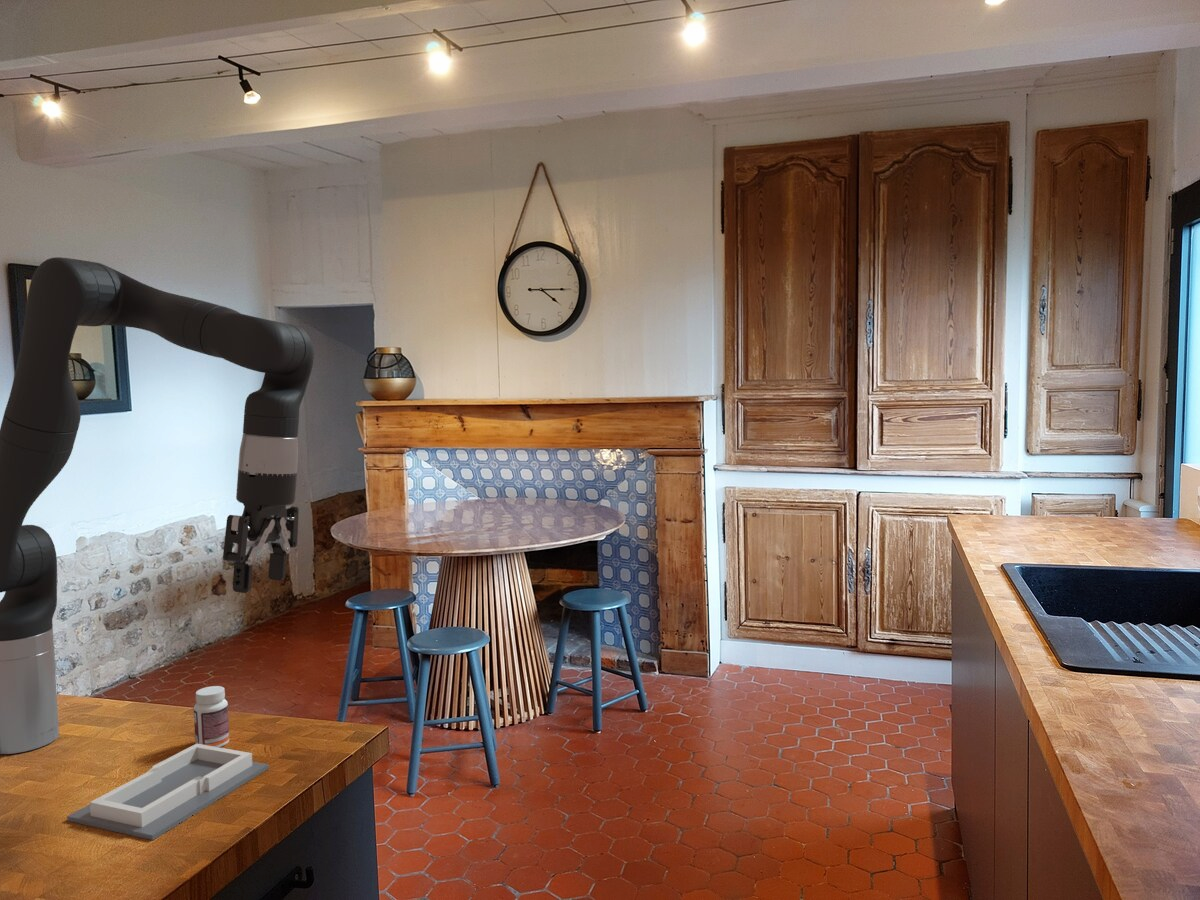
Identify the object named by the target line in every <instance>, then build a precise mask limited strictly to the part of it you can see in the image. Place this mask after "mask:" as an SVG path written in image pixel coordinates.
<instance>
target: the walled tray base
mask: <svg viewBox="0 0 1200 900" xmlns="http://www.w3.org/2000/svg"><path fill="white" fill-rule="evenodd" d="M269 766H270V764H267V763H264V762H257V761H253V753H252V752H247V751H242V750H235V749H232V748H231V749H230V748H224V747H214V746H208V745H202V744H193V745H191V746H189V747H187V748H185V749H183V750H182V751H179V752H178V753H176V754H174V755H172V756H170V757H167V758H166V759H164V760H162V761H160V762H157V763H155V765H153V766H151V767H150V769H149V770H147V772H145V773H143V774H141V775H139V776H137V777H136V778H134V779H131V780H130V781H128V782H126V783H124V784H122V785H120V786H118V787H116V788H114V789H112V790H110V791H108V792H107V793H105V794H103V795H101V796H99V797H97V798H96V799H93V800H91V801H89V804H87V805H86V806H84V807H82V808H80V809H78V810H76V811H74V812H73V813H70V814H69V815H66V817H67V821H68V822H71V823H76V824H81V825H84V826H88V827H93V828H98V829H100V830H101V829H102V830H106V831H111V832H115V833H120V834H122V835H123V834H124V835H127V836H133V837H138V838H141V839H146V840H149V841H154V840H156V839H157V838H159V837H160V836H162V835H164V834H165V833H167V832H168V830H169V831H171V830H172V829H173V828H176V827H177V826H178V825H180V824H182V823H183V822H185V821H186V820H188V819H189V817H190V818H192V817H193V816H194V815H196V814H198V813H200V812H201V811H202V810H204V809H206V808H207V807H209V806H211V805H213V804H214V803H215V802H217V801H218V799H219V800H220V799H222V798H224V797H225V796H227V795H228V794H230V793H232V792H234V791H235V790H237V789H238V788H241V786H243V785H244V784H246V783H248V782H249V781H251V780H253V779H254V778H257V777H258V776H259V775H261V774H262V773H265V771H268V770H269V769H270V767H269ZM223 796H224V797H223ZM192 815H193V816H192ZM181 822H182V823H181ZM179 823H180V824H179ZM176 825H177V826H176ZM166 831H167V832H166ZM163 833H164V834H163ZM155 838H156V839H155Z"/></svg>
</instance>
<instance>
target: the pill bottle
mask: <svg viewBox="0 0 1200 900" xmlns="http://www.w3.org/2000/svg"><path fill="white" fill-rule="evenodd" d="M225 697H226V692H225V687H223V686H220V685H213V686H211V685H210V686H207V687H202V688H200V689H198V690H196V692H195V702H196V703H195V704H194V706H193V721H194V722H193V725H194V740H195V742H194V743H195V744H202V745H208V746H214V747H219V748H223V746H226V745H228V743H229V741H230V725H229V723H230V722H229V718H230V717H229V704H228V703H229V702H228V701H227V700H226V698H225ZM195 744H194V745H195Z"/></svg>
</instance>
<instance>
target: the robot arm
mask: <svg viewBox="0 0 1200 900" xmlns="http://www.w3.org/2000/svg"><path fill="white" fill-rule="evenodd" d="M28 288H29V289H28V292H27V298H26V305H25V311H24V312H25V313H24V319H23V320H24V321H23V327H22V328H23V329H22V335H21V342H20V348H19V353H18V358H17V362H16V367H15V371H14V372H15V373H14V376H13V381H12V386H11V389H10V393H9V396H8V400H7V403H6V407H5V409H4V411H3V412H4V413H3V417H2V421H1V424H0V593H4V594H3V597H2V599H1V600H0V755H11V754H18V753H19V754H20V753H24V752H25V753H26V752H29V751H33V750H36V749H39V748H42V747H44V746H47V745H49V744H50V743H53V742H54V741H56V739H58V737H59V736H60V727H59V726H60V725H59V708H58V706H59V705H58V692H57V691H58V690H57V689H58V688H57V678H56V677H57V675H56V673H57V672H56V659H55V658H56V657H55V645H54V644H55V643H54V640H55V639H54V627H53V626H54V625H53V618H54V614H55V612H56V610H57V606H58V605H57V604H58V558H57V552H56V547H55V544H54V543H55V542H54V541H53V539H52V537H51V535H50V533H48V531H46V530H45V529H44V528H43V527H41V526H38V525H34V524H23V523H24V520H25V518H26V516H27V513H29V510H30V508H31V507H32V505H33V504H34V503H35V502H36V500H38V498H39V497H40V495H42V493H43V492H44V491H45V490H46V489H47V487H49V485H50V484H51V483H52V482H53V481H54V480H55V478H57V476H58V475H59V474H60V473H61V472H62V470H63V469H64V467H65V466H66V464H67V463H68V461H69V459H70V457H71V455H72V451H73V449H74V446H75V442H76V438H77V435H78V431H79V427H80V422H81V416H82V415H81V413H82V411H81V405H80V401H79V398H78V395H77V392H76V389H75V386H74V383H73V379H72V378H71V373H70V367H69V365H70V364H69V363H70V362H69V361H70V353H71V349H72V345H73V341H74V340H73V339H74V337H75V333H76V332H77V328H78V326H79V327H82V326H83V327H101V326H113V327H122V328H124V327H126V328H134V329H139V330H144V331H146V332H149V333H152V334H155V335H157V336H159V337H160V338H162V339H164V340H166V341H167V342H169V343H171V344H173V345H176V346H178V347H180V348H183V349H186V350H190V351H194V352H196V353H200V354H204V355H206V356H210V357H213V358H214V357H215V358H219V359H223V360H225V361H227V362H229V363H232V364H234V365H237V366H239V367H242V368H244V369H247V370H250V371H254V372H259V373H262V374H263V373H264V376H263V379H262V382H261V386H260V388H258V390H255V391H253V392H250V393H249V394H248V396H247V397H246V399H245V403H244V412H243V413H244V414H243V425H242V426H243V427H242V436H241V437H242V438H241V442H240V447H239V454H238V467H237V481H236V496H235V498H236V499H235V500H236V501H237V502H239V503H241V504H243V506H244V507H243V511H242V514H241V515H237V514H235V515H234V514H229V515H228V516H227V518H226V525H225V533H224V543H223V552H222V559H223V561H225V562H231V563H232V564H233V576H232V590H233V592H236V593H241V594H247V593H249V592H251V590H252V580H253V578H252V577H253V564H252V563H253V561H254V559H255V557H256V555H257V553H258V552H260V551H262V549H263V548H264V545H265V544H267V545H268V547H269V550H270V552H271V553H269V563H268V576H267V577H268V578H269V580H271V581H280V582H281V581H284V580H285V579H286V573H287V559H288V558H287V557H288V554H289V553H290V552H291V548H296V547H297V546H298V537H299V534H298V531H299V511H300V509H299V507H298V506H293V504H294V503H295V501H296V493H297V492H296V491H297V489H296V488H297V477H298V464H299V445H298V443H299V442H298V440H299V439H298V436H299V424H300V408H301V404H302V401H303V398H304V396H305V392H306V391H307V387H308V384H309V381H310V378H311V373H312V371H313V370H312V369H313V366H314V346H313V342H312V340H311V337H310V335H309V334H308V333H307V332H306V331H305V330H304V329H303V328H302V327H300V326H298V325H295V324H292V323H287V322H281V321H275V320H271V319H266V318H262V317H257V316H252V315H248V314H243V313H240V312H239V311H238V310H235V309H232V308H229V307H226V306H223V305H219V304H216V303H214V302H210V301H209V302H208V301H205V300H201V299H197V298H193V297H189V296H183V295H179V294H176V293H172V292H171V293H170V292H167V291H164V290H161V289H158V288H156V287H153V286H150V285H149V284H148V285H147V284H146V283H144V282H141V281H139V280H136V279H135V278H132V277H130V276H129V275H127V274H125V273H122V272H121V271H118V270H116V269H114V268H112V267H110V266H108V265H106V264H103V263H100V262H95V261H91V260H82V259H75V258H67V257H58V256H57V257H51V258H47V259H46V260H45V261H42V262H41V263H40V264H39V265H38V266H37V267H36V269H35V270H34V273H33V275H32V277H31V281H30V284H29V287H28ZM289 532H290V534H289ZM234 544H235V548H234V549H233V546H234ZM233 550H234V551H233Z"/></svg>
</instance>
